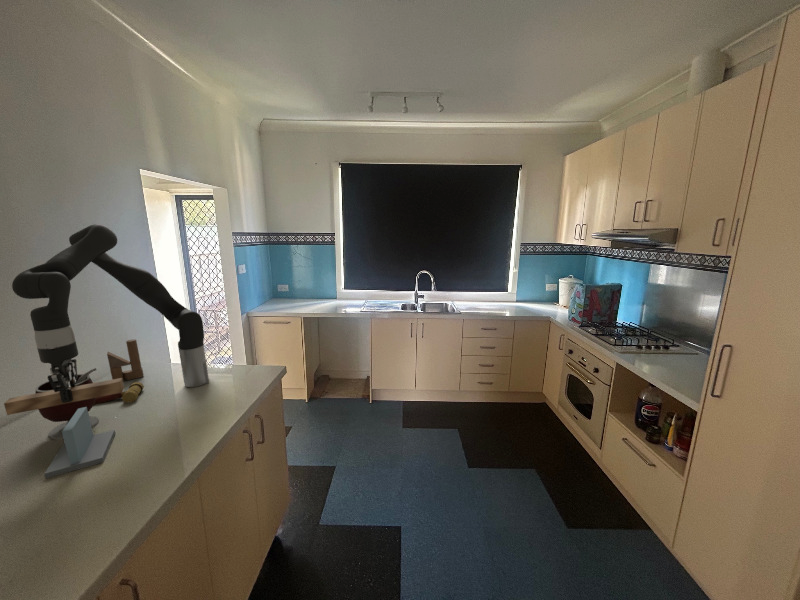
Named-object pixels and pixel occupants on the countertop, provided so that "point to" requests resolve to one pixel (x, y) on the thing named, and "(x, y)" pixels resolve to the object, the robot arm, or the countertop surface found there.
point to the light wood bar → (54, 398)
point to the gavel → (123, 394)
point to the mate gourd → (66, 406)
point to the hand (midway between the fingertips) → (70, 398)
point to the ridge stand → (80, 446)
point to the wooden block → (126, 363)
